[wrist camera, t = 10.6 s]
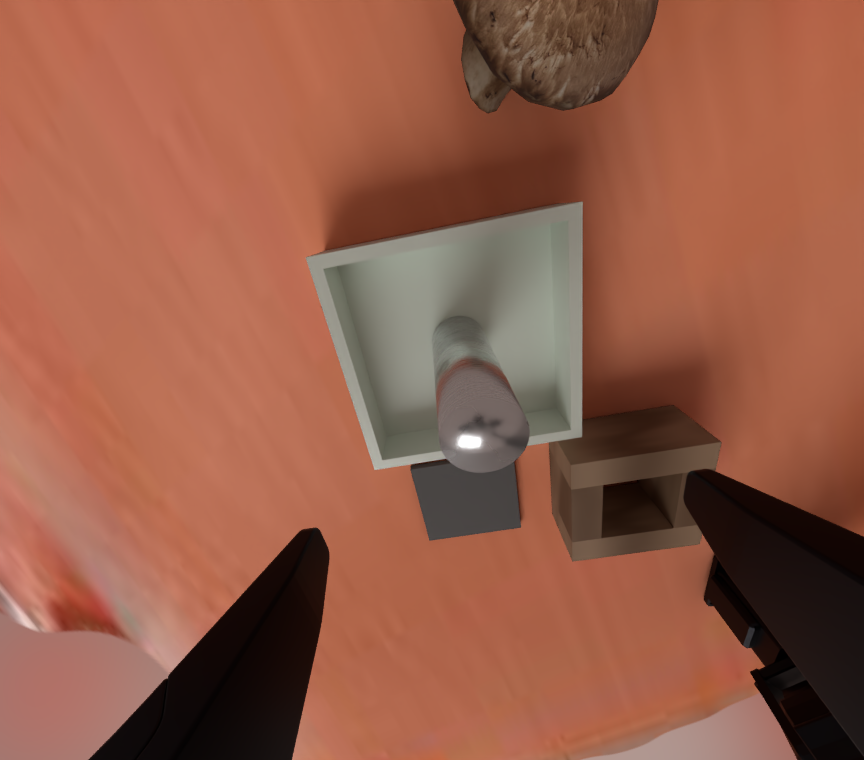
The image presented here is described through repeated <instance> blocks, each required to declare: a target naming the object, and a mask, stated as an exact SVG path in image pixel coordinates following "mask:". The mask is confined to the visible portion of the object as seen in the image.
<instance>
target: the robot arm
mask: <svg viewBox="0 0 864 760" xmlns="http://www.w3.org/2000/svg"><path fill="white" fill-rule="evenodd" d="M683 499H684V503H685V506H686V508H687V510H688V511H689V513H690V514H691V516H692V518H693V519H694V521H695V523H696V524H697V526H698V527H699V529H700V531H701V532H702V534H703V536H704V537H705V539H706V541H707V542H708V544H709V545H710V547H711V549H712V550H713V552H714V554H715V556H714V559H713V563H712V567H711V571H710V575H709V579H708V584H707V588H706V592H705V596H704V601H705V602H706V604H707V605H708V606H714V607H715V609H716V610H717V611H718V613H719V614H720V615H721V617H722V618H723V619H724V621H725V622H726V624H727V625H728V626H729V628H730V629H731V630H732V632H733V633H734V634H735V636H736V637H737V639H738V640H739V641H740V643H741V644H742V645H743V646H744V647H746V648H752V650H753V651H754V652H755V654H756V655H757V656H758V658H759V659H760V660H761V662H762V663H763V664H764V666H765V667H763V668H761V669H759V670H758V669H755V670H753V671H750V673H751V675H752V676H753V678H754V680H755V681H756V682H755V683H754V684H755V686H756V687H757V689H758V690H759V692H760V693H761V694H762V696H763V698H764V699H765V701H766V703H767V704H768V706H769V707H770V709H771V711H772V712H773V714H774V716H775V717H776V719H777V721H778V722H779V724H780V726H781V728H782V730H783V732H784V734H785V736H786V738H787V740H788V742H789V744H790V746H791V747H792V750H793V752H794V753H795V756H796V758H797V760H864V537H863V536H861V535H859V534H856V533H854V532H852V531H850V530H847V529H845V528H843V527H840V526H838V525H836V524H834V523H831V522H829V521H827V520H825V519H822V518H820V517H818V516H816V515H813V514H811V513H809V512H806V511H804V510H802V509H800V508H797V507H795V506H793V505H791V504H788V503H786V502H784V501H781V500H779V499H777V498H775V497H772V496H770V495H768V494H766V493H763V492H761V491H759V490H757V489H754V488H752V487H750V486H747V485H745V484H743V483H741V482H738V481H736V480H734V479H732V478H729V477H727V476H725V475H722V474H720V473H718V472H716V471H713V470H711V469H700V470H693V471H690V472H689V473H688V474H687V477H686V483H685V489H684V494H683ZM328 566H329V549H328V547H327V545H326V542H325V540H324V538H323V536H322V534H321V532H320V530H319V529H318V528H309V529H303V530H301V531H300V532H299V533H298V534H297V535H296V536H295V537H294V538H293V539H292V540H291V541H290V542H289V543H288V545H287V546H286V547H285V548H284V549H283V550H282V551H281V552H280V553H279V554H278V556H277V557H276V558H275V559H274V560H273V561H272V562H271V563H270V564H269V565H268V567H267V568H266V569H265V570H264V571H263V572H262V573H261V574H260V575H259V576H258V577H257V579H256V580H255V581H254V582H253V583H252V584H251V585H250V586H249V587H248V588H247V590H246V591H245V592H244V593H243V594H242V595H241V596H240V597H239V598H238V599H237V601H236V602H235V603H234V604H233V605H232V606H231V607H230V608H229V609H228V610H227V611H226V613H225V614H224V615H223V616H222V617H221V618H220V619H219V620H218V621H217V622H216V624H215V625H214V626H213V627H212V628H211V629H210V630H209V631H208V632H207V633H206V635H205V636H204V637H203V638H202V639H201V640H200V641H199V642H198V643H197V644H196V646H195V647H194V648H193V649H192V650H191V651H190V652H189V653H188V654H187V655H186V656H185V658H184V659H183V660H182V661H181V662H180V663H179V664H178V665H177V666H176V667H175V669H174V670H173V671H172V672H171V673H170V674H169V676H168V679H165V680H163V682H162V683H161V684H160V685H159V686H158V687H157V688H156V689H155V690H154V691H153V693H152V694H151V695H150V696H149V697H148V698H147V699H146V700H145V701H144V702H143V703H142V704H141V706H140V707H139V708H138V709H137V710H136V711H135V712H134V713H133V714H132V715H131V716H130V717H129V718H128V720H126V722H125V723H124V724H123V725H122V726H121V727H120V728H119V729H118V730H117V731H116V732H115V733H114V734H113V735H112V736H111V737H110V739H108V740H107V741H106V743H104V744H103V746H102V747H100V748H99V750H98V751H97V752H96V753H95V754H94V755H93V756H92V757H91V758H90V759H89V760H292V757H293V752H294V747H295V743H296V738H297V734H298V729H299V725H300V720H301V716H302V711H303V706H304V702H305V697H306V693H307V688H308V684H309V679H310V675H311V670H312V665H313V661H314V656H315V652H316V647H317V643H318V638H319V633H320V628H321V623H322V616H323V608H324V600H325V591H326V583H327V574H328Z"/></svg>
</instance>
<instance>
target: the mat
mask: <svg viewBox="0 0 864 760" xmlns="http://www.w3.org/2000/svg"><path fill="white" fill-rule="evenodd" d="M411 473H412V477H413V481H414V484H415V488H416V492H417V495H418V499H419V503H420V507H421V510H422V514H423V518H424V522H425V525H426V529H427V533H428V536H429V540H437V539H444V538H451V537H458V536H465V535H472V534H479V533H486V532H493V531H500V530H507V529H514V528H521V523H520V514H519V504H518V494H517V485H516V475H515V465H514V462H513V463H511V464H510V465H508V466H506V467H504V468H502V469H499V470H496V471H492V472H485V473H476V472H469V471H465V470H462V469H460V468H458V467H456V466H455V465H453V464H452V463H450V462H449V461H448V460H445V461H438V462H432V463H426V464H419V465H413V466H411Z"/></svg>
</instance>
